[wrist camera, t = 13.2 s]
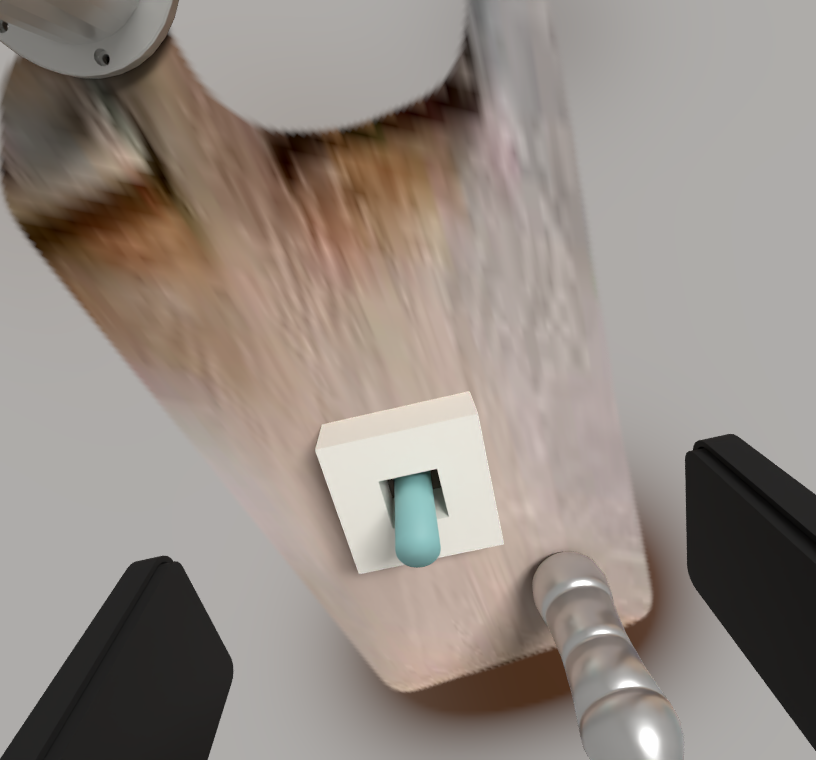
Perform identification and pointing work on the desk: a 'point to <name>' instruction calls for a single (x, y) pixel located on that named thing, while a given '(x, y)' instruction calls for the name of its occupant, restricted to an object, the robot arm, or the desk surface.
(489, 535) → the hole block
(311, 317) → the desk surface
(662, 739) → the plastic bottle
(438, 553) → the peg
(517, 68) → the desk surface
